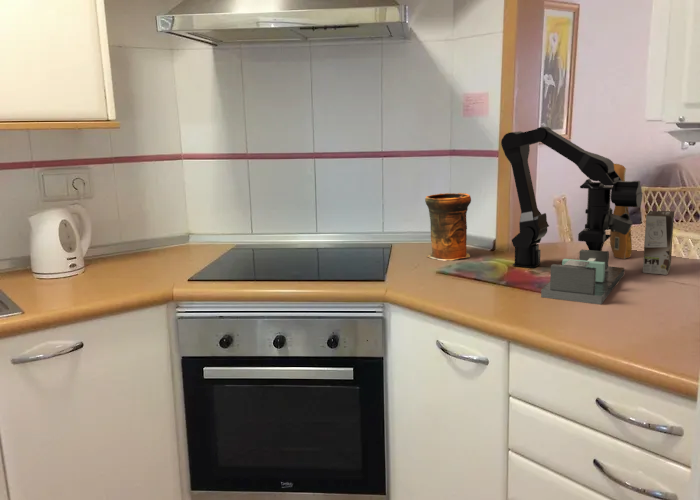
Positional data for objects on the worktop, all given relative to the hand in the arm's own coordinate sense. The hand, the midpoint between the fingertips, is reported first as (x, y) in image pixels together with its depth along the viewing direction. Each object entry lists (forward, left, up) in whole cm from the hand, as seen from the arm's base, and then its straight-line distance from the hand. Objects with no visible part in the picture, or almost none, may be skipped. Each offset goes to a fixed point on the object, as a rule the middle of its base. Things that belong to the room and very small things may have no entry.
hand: (596, 261), depth 168 cm
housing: (0, -22, -2) cm, 22 cm away
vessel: (-46, +4, -4) cm, 46 cm away
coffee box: (+14, +10, -4) cm, 18 cm away
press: (0, -13, -4) cm, 14 cm away
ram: (0, -9, -1) cm, 9 cm away
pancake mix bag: (+1, +27, -4) cm, 27 cm away
